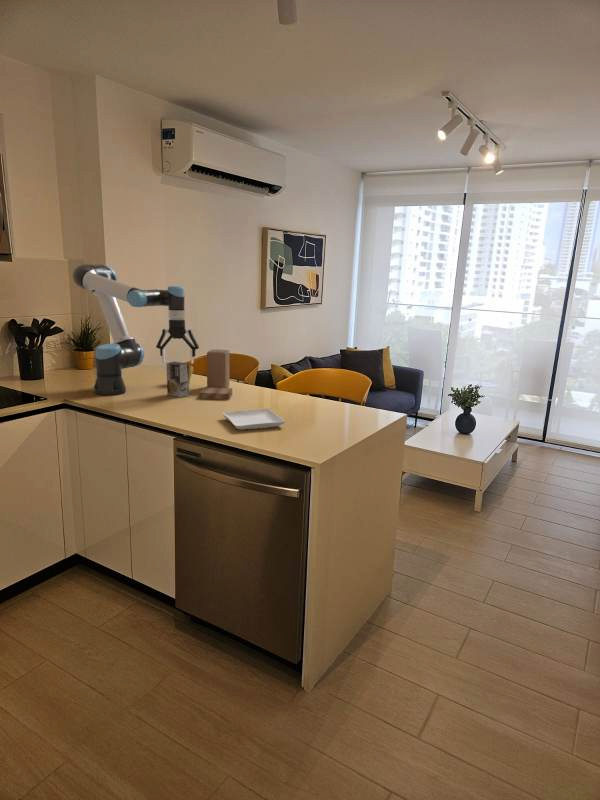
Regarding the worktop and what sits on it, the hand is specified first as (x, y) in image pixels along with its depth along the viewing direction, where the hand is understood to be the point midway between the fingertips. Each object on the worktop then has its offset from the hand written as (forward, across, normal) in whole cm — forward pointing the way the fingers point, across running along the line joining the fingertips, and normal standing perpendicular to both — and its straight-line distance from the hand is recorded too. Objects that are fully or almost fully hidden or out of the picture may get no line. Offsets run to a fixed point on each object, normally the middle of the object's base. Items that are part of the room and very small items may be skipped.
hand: (178, 363), depth 262 cm
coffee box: (+16, 0, 0) cm, 16 cm away
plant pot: (+16, -4, +26) cm, 31 cm away
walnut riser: (+16, +18, 0) cm, 25 cm away
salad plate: (+17, +40, -45) cm, 63 cm away
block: (+16, +16, +19) cm, 30 cm away
